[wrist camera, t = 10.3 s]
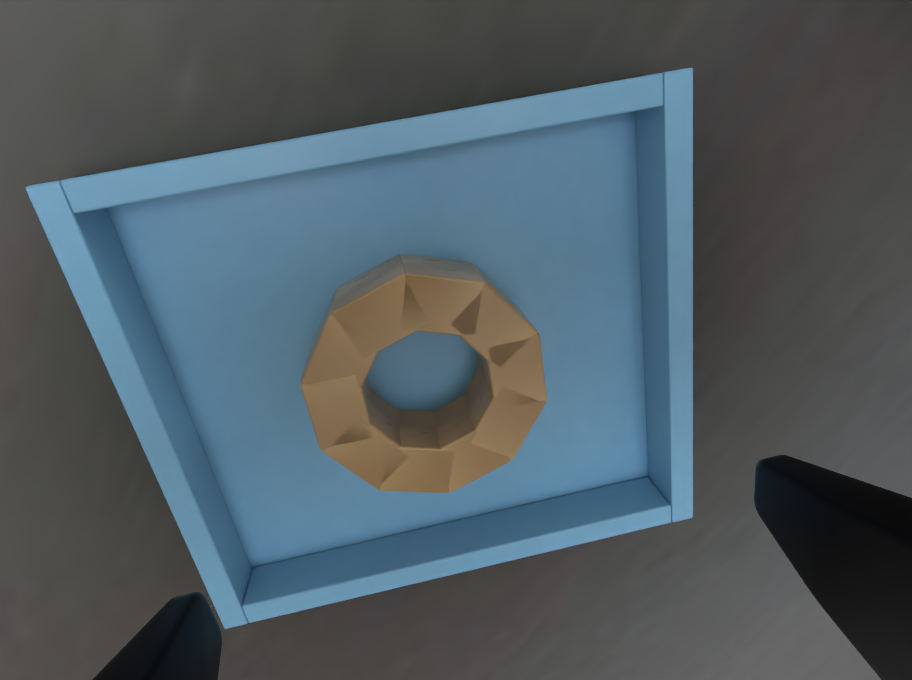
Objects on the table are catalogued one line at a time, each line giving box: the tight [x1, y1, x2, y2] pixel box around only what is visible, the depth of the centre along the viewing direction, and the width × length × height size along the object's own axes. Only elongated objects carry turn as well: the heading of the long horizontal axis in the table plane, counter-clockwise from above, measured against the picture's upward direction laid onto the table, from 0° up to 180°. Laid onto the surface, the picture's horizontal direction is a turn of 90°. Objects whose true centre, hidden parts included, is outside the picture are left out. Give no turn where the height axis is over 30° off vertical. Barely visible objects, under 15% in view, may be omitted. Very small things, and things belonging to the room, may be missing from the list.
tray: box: [26, 68, 693, 629], centre depth 17 cm, size 17×15×2 cm
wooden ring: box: [300, 254, 547, 493], centre depth 17 cm, size 7×7×2 cm
